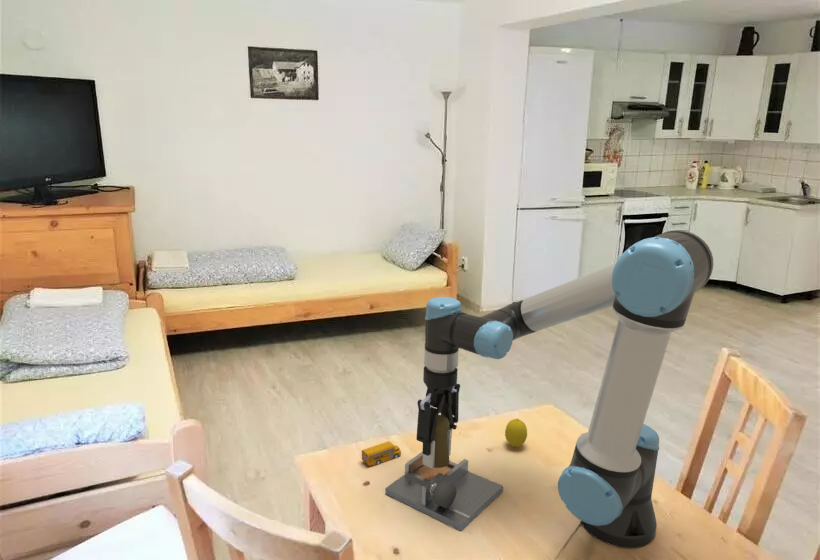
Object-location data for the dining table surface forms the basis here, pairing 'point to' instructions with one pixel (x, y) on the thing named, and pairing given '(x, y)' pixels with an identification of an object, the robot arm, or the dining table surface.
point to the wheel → (445, 494)
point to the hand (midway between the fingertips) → (436, 459)
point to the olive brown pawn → (441, 442)
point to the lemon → (516, 432)
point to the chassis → (424, 481)
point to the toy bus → (380, 453)
